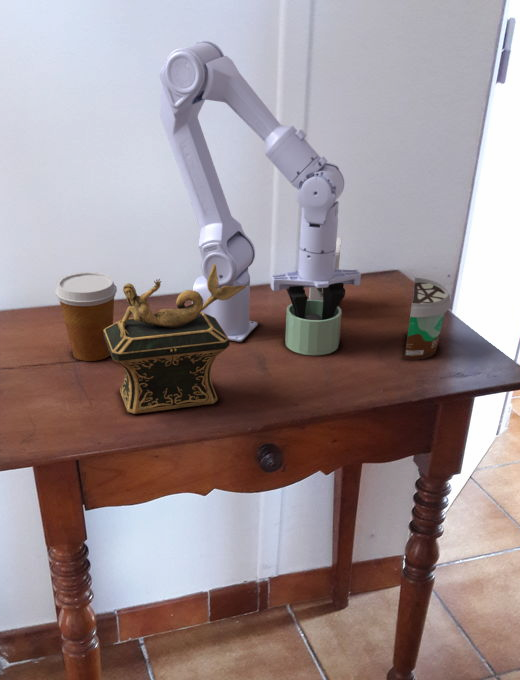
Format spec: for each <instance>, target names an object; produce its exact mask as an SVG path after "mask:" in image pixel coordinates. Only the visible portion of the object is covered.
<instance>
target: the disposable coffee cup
mask: <svg viewBox="0 0 520 680" xmlns="http://www.w3.org/2000/svg"><path fill="white" fill-rule="evenodd" d="M117 291H118V288H117V286H116V285H115V283H114V280H113V278H112V277H111V276H110V275H107V274H105V273H100V272H93V271H91V272H89V271H87V272H85V271H84V272H77V273H75V272H74V273H71V274H68V275H65V276H63V277H61V278H60V279H59V280H58V281H57V284H56V288H55V291H54V293H55V296H56V297H57V299H58V300H59V305H60V308H61V313H62V316H63V319H64V324H65V328H66V333H67V336H68V341H69V344H70V348H71V353H72V355H73V358H75V359H77V360H80V361H84V362H96V361H97V362H98V361H102V360H105V359H106V358H109V357H110V356H111V354H110V351H109V349H108V346H107V343H106V341H105V338H104V334H103V330H104V329H105V328H107V327H109V326H111V325H112V324H114V312H115V311H114V310H115V297H116V293H117Z"/></svg>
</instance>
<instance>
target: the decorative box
mask: <svg viewBox="0 0 520 680" xmlns="http://www.w3.org/2000/svg"><path fill="white" fill-rule="evenodd" d="M160 280H161V279H160V278H156V281H155V280H153V283H154V284H155V285H154V286H152V287H151V288H150V289H148V290H147V291H146V292H143V293H142V294H141V295H138V293H137V290H136V287H135V286H134V285H133V284H132V283H125V284H124V285H123V288H122V292H123V294H124V296H125V298H126V302H127V304H128V305H129V306H128V307H126V308H127V309H126V311H125V314H124V315H123V318H122V319H119V320H118V321H116V322H113V324H112V325H111V326H109V327H107V328H105V329H104V330H103V334H104V338H105V341H106V343H107V346H108V349H109V351H110V354H111V355H110V356H111V359H112V361H114V362H115V363H117V364H118V365H119V366H120V367H122V368H123V369H124V378H123V381H122V384H121V386H120V389H119V393H120V394H121V398H122V400H123V403H124V406H125V408H126V412H127V413H131V414H135V415H136V414H137V415H139V414H144V413H152V412H160V411H167V410H168V411H169V410H175V409H182V408H189V407H197V406H205V405H213V404H215V403H216V402H218V396H217V393H216V390H215V388H214V386H213V382H212V376H211V371H212V366H213V363H214V361H215V360H216V359H217V357H218V356H219V355H220V354H221V353H223V352H224V351H225V350H226V349H228V348H229V347H230V340H229V338H228V337H227V335H226V334H225V332H224V331H223V329H222V327H221V326H220V324H219V323H218V321H217V320H216V318H214V317H212V316H210V315H207V314H205V313H203V312H201V311H203V310H204V309H205V308H207V306H208V305H210V304H211V303H212V302H214V301H215V300H217V299H219V300H227V299H229V298H231V297H232V296H234V295H235V294H237V293H238V292H239V291H241V290H242V289H244V288H245V287H246V286H224V287H222V288H220V289H218V288H217V287H218V277H217V269H216V264H215V263H214V264H213V267H212V270H211V272H210V275H209V277H208V281H207V287H208V290H209V292H210V293H211V296H210V297H209V298H208V300H207V301H206V302H205V303H204V305H203V299H202V297H201V295H200V294H199V293H198V292H196V291H193V289H186V290H184V291H182V292H180V293H179V295H178V296H177V298H176V300H175V304H176V307H177V308H163V309H160V310H157V312H155V313H153V311H152V309H151V306H150V303H149V301H148V298H150V297H151V296H152V295H153V294H154V293H156V292H157V291H158V290H159V289H160V287H161V283H162V280H161V281H160ZM187 301H191V304H189V305H187V306H186V305H185V303H187ZM192 302H193V304H192ZM131 315H132V316H133V317H130V316H131Z"/></svg>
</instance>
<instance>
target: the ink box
mask: <svg viewBox="0 0 520 680" xmlns="http://www.w3.org/2000/svg"><path fill="white" fill-rule="evenodd" d="M342 240H343V238H341V237H337V242H336V255H335V268H334V269H340V258H341V247H342ZM308 291H309V292H308V300H322V301H323V288H317V287H309V290H308Z"/></svg>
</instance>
